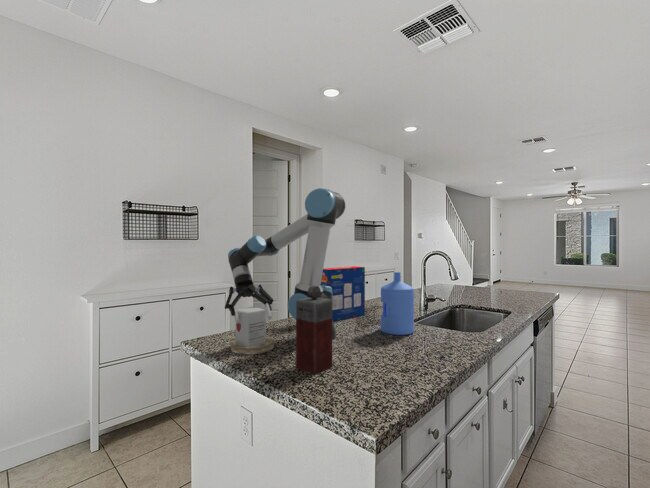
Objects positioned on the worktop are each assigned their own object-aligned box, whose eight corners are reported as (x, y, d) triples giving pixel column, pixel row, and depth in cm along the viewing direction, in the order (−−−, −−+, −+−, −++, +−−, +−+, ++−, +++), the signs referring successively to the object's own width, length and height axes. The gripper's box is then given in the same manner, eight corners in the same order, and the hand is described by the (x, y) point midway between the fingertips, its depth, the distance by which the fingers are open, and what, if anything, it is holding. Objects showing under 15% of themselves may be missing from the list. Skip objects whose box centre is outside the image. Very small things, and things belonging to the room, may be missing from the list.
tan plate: (278, 342, 148) (278, 336, 148) (265, 355, 131) (265, 349, 131) (241, 340, 151) (241, 334, 151) (223, 353, 134) (223, 346, 134)
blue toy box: (354, 313, 206) (354, 266, 206) (364, 315, 200) (364, 267, 200) (318, 320, 188) (318, 268, 188) (328, 323, 182) (328, 269, 182)
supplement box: (234, 346, 140) (234, 309, 140) (253, 341, 147) (253, 306, 147) (247, 351, 134) (247, 312, 134) (266, 346, 141) (266, 309, 140)
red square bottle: (309, 359, 127) (309, 282, 126) (332, 367, 119) (332, 285, 119) (291, 366, 120) (291, 285, 120) (314, 374, 112) (314, 288, 112)
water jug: (418, 329, 168) (418, 272, 168) (407, 337, 155) (407, 274, 155) (388, 325, 177) (388, 270, 176) (375, 332, 163) (375, 273, 163)
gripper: (267, 282, 160) (280, 321, 147) (212, 285, 147) (221, 329, 135) (271, 271, 155) (285, 311, 143) (214, 274, 143) (224, 318, 130)
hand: (254, 319), depth 139 cm, fingers open, 13 cm apart
